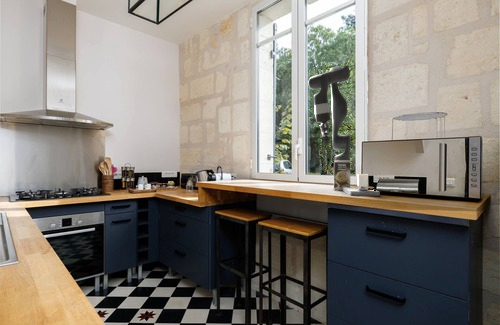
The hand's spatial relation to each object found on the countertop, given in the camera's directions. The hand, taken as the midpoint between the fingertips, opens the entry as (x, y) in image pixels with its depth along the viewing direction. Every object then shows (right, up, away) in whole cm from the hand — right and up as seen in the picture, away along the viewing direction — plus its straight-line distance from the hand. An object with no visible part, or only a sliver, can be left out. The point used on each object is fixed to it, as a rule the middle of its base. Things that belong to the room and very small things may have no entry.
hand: (326, 143), depth 148 cm
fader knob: (+14, -24, -13) cm, 30 cm away
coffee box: (+12, -26, +12) cm, 31 cm away
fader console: (+15, -26, -7) cm, 31 cm away
